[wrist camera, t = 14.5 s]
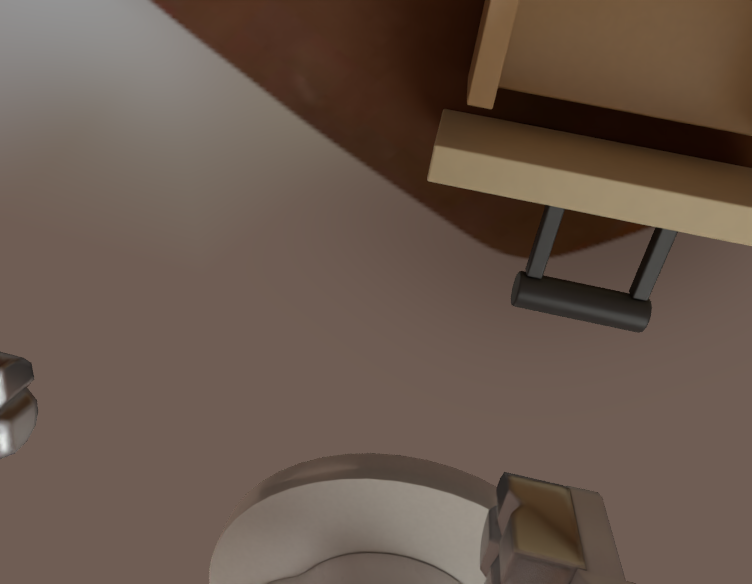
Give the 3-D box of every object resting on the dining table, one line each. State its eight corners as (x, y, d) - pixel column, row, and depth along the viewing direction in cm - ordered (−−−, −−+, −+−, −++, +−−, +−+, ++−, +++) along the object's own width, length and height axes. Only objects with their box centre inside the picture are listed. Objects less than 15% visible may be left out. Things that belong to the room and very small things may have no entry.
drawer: (706, 302, 26) (777, 393, 20) (415, 242, 27) (399, 311, 21) (967, -223, 17) (1230, -342, 11) (527, -291, 18) (555, -436, 12)
